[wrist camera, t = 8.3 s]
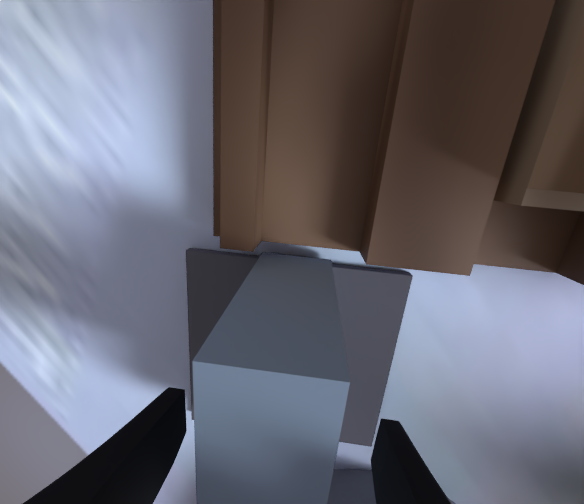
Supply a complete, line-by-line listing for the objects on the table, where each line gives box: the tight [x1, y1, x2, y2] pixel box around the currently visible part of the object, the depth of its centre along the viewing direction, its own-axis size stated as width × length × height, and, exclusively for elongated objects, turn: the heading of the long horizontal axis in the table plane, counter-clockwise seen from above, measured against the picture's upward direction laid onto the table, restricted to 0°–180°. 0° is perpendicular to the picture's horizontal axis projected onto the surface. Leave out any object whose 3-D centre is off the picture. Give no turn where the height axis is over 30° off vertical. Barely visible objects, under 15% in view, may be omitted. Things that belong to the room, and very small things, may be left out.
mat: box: [186, 248, 412, 446], centre depth 14 cm, size 10×10×1 cm
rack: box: [213, 0, 584, 285], centre depth 8 cm, size 15×14×2 cm
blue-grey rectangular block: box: [192, 252, 350, 504], centre depth 10 cm, size 3×10×7 cm, turn 175°
